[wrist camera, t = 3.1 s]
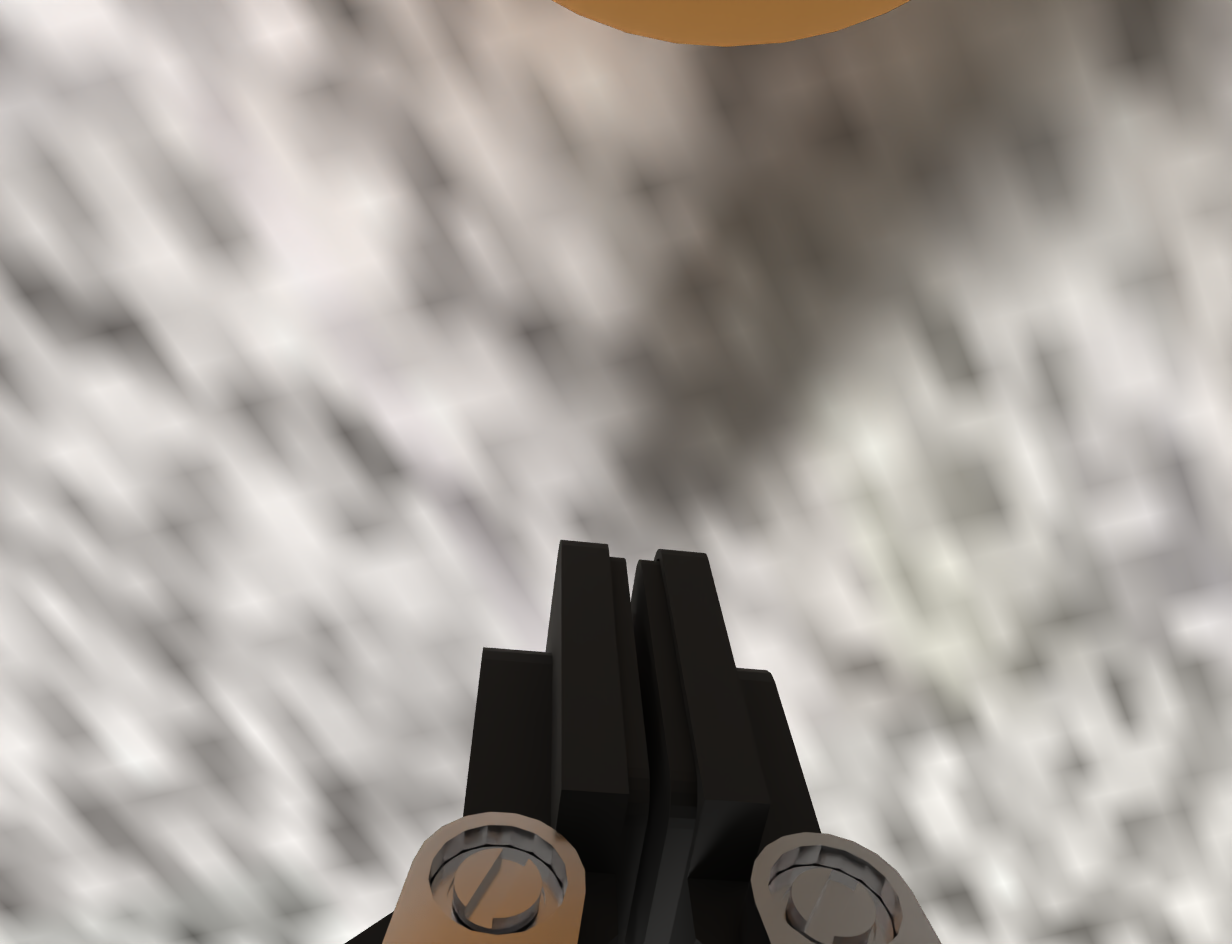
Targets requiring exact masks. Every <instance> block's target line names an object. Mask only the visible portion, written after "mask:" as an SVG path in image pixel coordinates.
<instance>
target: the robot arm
mask: <svg viewBox="0 0 1232 944" xmlns="http://www.w3.org/2000/svg"><path fill="white" fill-rule="evenodd" d="M345 944H941V942H940V940H939V938H938V936H937V935H936V933H935V931H934V929H933V928H932V926H931V924H930V922H929V920H928V919H927V917H926V915H925V913H924V911H923V910H922V908H921V906H920V904H919V903H918V901H917V899H916V897H915V895H914V894H913V892H912V890H911V889H910V888H909V886H908V885H907V884H906V882H905V881H904V880H903V878H902V877H901V876H900V874H899V873H898V872H897V870H895V869H894V868H893V867H892V866H891V865H889V864H888V863H887V862H886V861H885V860H883V859H882V858H881V857H880V856H879V855H878V854H876V853H874V852H872V851H870V850H869V849H867V848H865V847H863V846H861V845H859V844H857V843H856V842H854V841H851V840H847V839H844V838H841V837H837V836H834V835H831V834H823V833H821V831H820V828H819V824H818V821H817V818H816V815H815V811H814V808H813V805H812V801H811V798H810V795H809V792H808V788H807V785H806V782H805V779H804V775H803V772H802V769H801V766H800V762H799V759H798V756H797V753H796V749H795V746H794V743H793V739H792V736H791V733H790V730H789V726H788V723H787V720H786V717H785V713H784V710H783V707H782V704H781V700H780V697H779V694H778V691H777V687H776V684H775V681H774V679H773V677H772V675H771V673H770V672H768V671H767V670H757V669H744V668H736V666H735V662H734V658H733V654H732V650H731V646H730V642H729V639H728V635H727V631H726V627H725V623H724V619H723V615H722V611H721V607H720V603H719V600H718V596H717V592H716V588H715V584H714V580H713V576H712V572H711V568H710V564H709V560H708V557H707V555H706V554H705V553H697V552H687V551H676V550H665V549H658V550H657V552H656V555H655V559H654V561H649V560H639V561H638V564H637V568H636V573H635V579H634V585H633V591H632V597H631V602H630V593H629V584H628V575H627V566H626V560H625V558H616V557H609V548H608V544H600V543H589V542H578V541H568V540H560V544H559V550H558V557H557V565H556V573H555V581H554V589H553V597H552V605H551V613H550V621H549V629H548V637H547V645H546V652H535V651H523V650H510V649H498V648H486V647H483V653H482V661H481V669H480V678H479V686H478V695H477V703H476V712H475V720H474V729H473V737H472V745H471V754H470V762H469V771H468V779H467V788H466V796H465V805H464V813H463V817H462V818H460V819H458V820H455V821H453V822H451V823H449V824H446V825H444V826H442V827H441V828H440V829H439V830H437V831H436V832H435V833H434V834H433V835H431V836H430V837H429V838H428V839H427V840H426V841H424V843H423V845H422V846H421V848H420V850H419V851H418V853H417V855H416V856H415V858H414V860H413V861H412V864H411V867H410V870H409V872H408V875H407V878H406V880H405V883H404V886H403V889H402V891H401V894H400V897H399V899H398V902H397V905H396V907H395V910H394V911H393V912H392V913H390V914H389V915H387V916H386V917H384V918H383V919H381V920H380V921H378V922H377V923H375V924H374V925H372V926H371V927H369V928H368V929H366V930H365V931H363V932H362V933H360V934H359V935H357V936H356V937H354V938H353V939H351V940H349V941H348V942H346V943H345Z"/></svg>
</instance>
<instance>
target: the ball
mask: <svg viewBox="0 0 1232 944" xmlns="http://www.w3.org/2000/svg"><path fill="white" fill-rule="evenodd" d="M552 1H554V2H556V3H558V4H560V5H561V6H563V7H565V8H567V9H569V10H571V11H573V12H574V13H576V14H578V15H581V16H583V17H586V18H589V19H591V20H594V21H597V22H599V23H602V24H605V25H607V26H610V27H613V28H616V29H618V30H621V31H624V32H626V33H631V34H635V35H640V36H644V37H649V38H654V39H658V40H663V41H667V42H672V43H678V44H693V45H707V46H721V47H729V46H743V45H757V44H770V43H784V42H789V41H794V40H799V39H803V38H808V37H812V36H817V35H822V34H826V33H831V32H836V31H838V30H841V29H844V28H847V27H849V26H852V25H855V24H858V23H860V22H863V21H866V20H869V19H871V18H874V17H877V16H880V15H882V14H885V13H887V12H889V11H891V10H893V9H895V8H897V7H899V6H901V5H903V4H905V3H906V2H908V1H910V0H552Z"/></svg>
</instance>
